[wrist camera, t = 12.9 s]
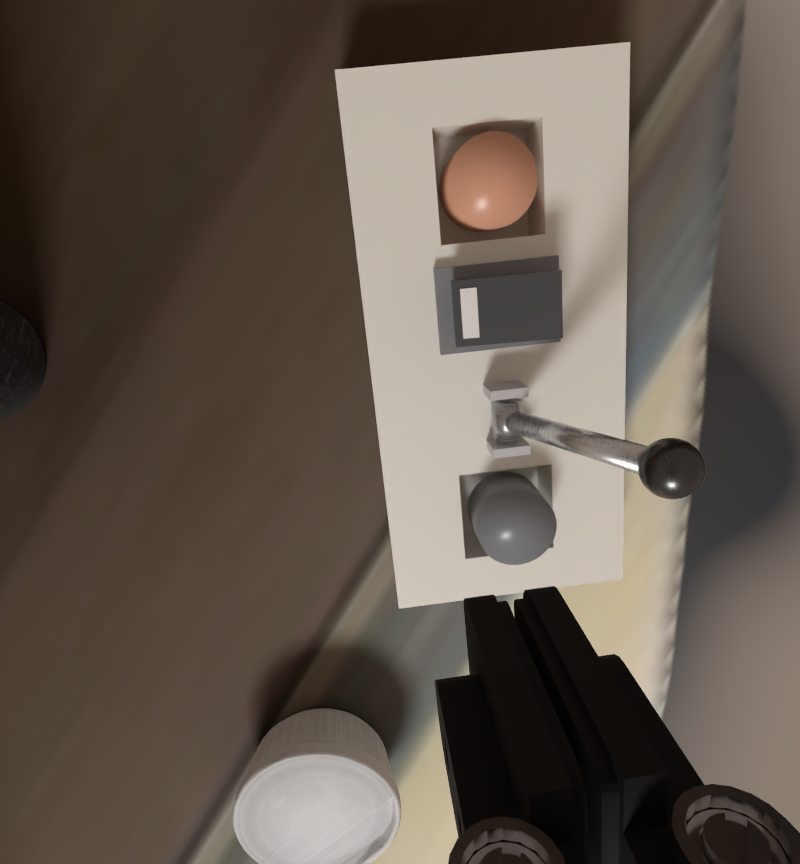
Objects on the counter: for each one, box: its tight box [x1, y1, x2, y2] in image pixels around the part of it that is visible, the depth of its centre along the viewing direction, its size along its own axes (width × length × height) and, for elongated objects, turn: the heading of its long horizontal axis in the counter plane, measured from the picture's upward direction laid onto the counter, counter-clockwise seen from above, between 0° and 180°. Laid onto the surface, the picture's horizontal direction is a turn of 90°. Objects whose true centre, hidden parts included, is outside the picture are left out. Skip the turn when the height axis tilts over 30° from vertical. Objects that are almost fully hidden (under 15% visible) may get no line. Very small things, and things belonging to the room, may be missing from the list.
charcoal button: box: [467, 472, 557, 565], centre depth 33 cm, size 4×4×3 cm
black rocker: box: [451, 269, 563, 347], centre depth 28 cm, size 3×5×1 cm, turn 96°
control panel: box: [335, 42, 630, 609], centre depth 32 cm, size 29×14×6 cm, turn 6°
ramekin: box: [233, 708, 401, 864], centre depth 41 cm, size 11×11×5 cm
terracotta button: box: [439, 131, 538, 232], centre depth 30 cm, size 4×4×3 cm
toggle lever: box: [491, 398, 705, 499], centre depth 27 cm, size 2×2×12 cm
